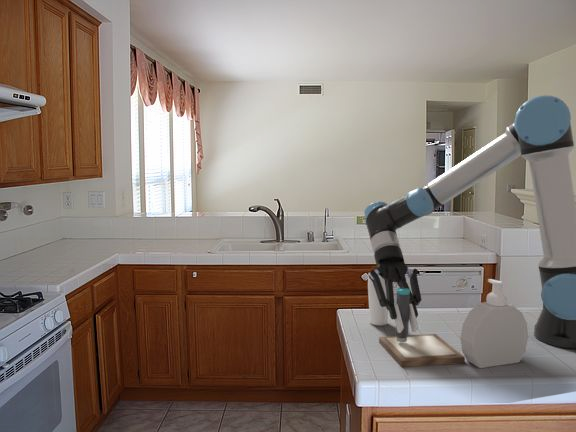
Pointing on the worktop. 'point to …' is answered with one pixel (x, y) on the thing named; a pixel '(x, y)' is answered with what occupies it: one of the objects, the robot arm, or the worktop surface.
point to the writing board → (421, 350)
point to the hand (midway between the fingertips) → (408, 329)
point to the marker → (403, 312)
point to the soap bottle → (494, 331)
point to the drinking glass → (376, 305)
